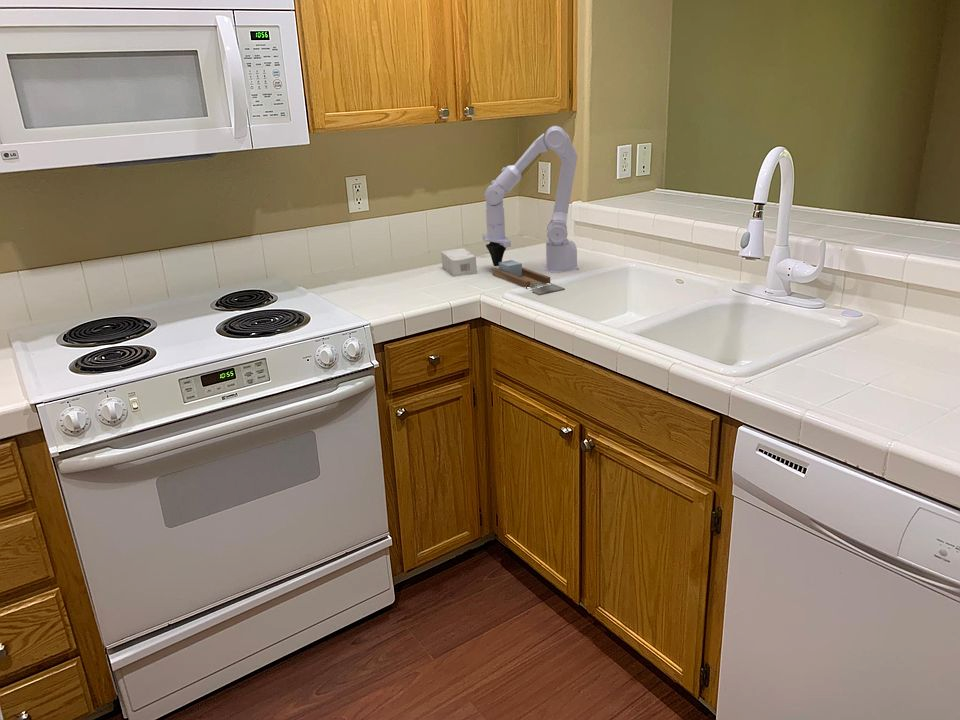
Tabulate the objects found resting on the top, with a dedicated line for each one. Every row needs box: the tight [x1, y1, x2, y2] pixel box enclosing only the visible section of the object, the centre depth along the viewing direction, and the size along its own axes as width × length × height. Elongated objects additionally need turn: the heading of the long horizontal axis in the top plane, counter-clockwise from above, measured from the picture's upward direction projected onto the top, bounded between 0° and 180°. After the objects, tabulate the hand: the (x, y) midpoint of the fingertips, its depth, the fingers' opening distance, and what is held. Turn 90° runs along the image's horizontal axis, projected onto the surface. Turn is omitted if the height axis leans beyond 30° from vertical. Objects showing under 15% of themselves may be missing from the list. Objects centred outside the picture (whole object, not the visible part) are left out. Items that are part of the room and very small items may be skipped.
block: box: [498, 259, 523, 277], centre depth 229 cm, size 5×6×4 cm
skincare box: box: [440, 247, 478, 277], centre depth 239 cm, size 8×6×15 cm
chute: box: [492, 266, 566, 296], centre depth 221 cm, size 9×27×2 cm, turn 29°
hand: (497, 265), depth 235 cm, fingers closed
